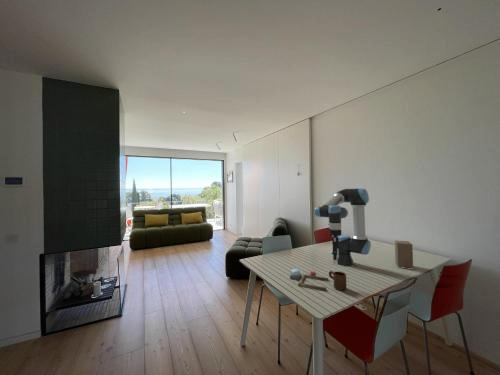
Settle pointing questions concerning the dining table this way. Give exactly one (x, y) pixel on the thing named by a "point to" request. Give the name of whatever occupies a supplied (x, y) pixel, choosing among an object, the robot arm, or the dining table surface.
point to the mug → (339, 280)
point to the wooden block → (403, 254)
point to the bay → (312, 285)
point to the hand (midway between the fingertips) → (335, 261)
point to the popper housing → (295, 277)
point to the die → (313, 273)
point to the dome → (295, 272)
